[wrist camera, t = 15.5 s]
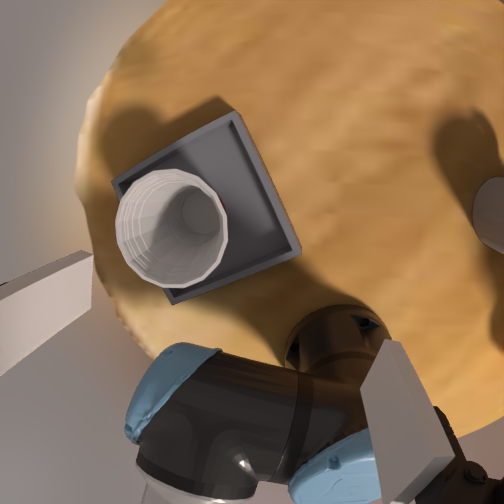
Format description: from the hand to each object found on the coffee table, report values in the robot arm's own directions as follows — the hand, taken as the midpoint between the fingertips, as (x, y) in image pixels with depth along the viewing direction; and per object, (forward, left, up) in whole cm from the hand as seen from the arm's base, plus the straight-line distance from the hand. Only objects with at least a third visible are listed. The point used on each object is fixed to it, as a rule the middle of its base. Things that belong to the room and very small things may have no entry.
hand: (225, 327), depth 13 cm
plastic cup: (+4, +7, -26) cm, 28 cm away
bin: (+4, +7, -27) cm, 28 cm away
